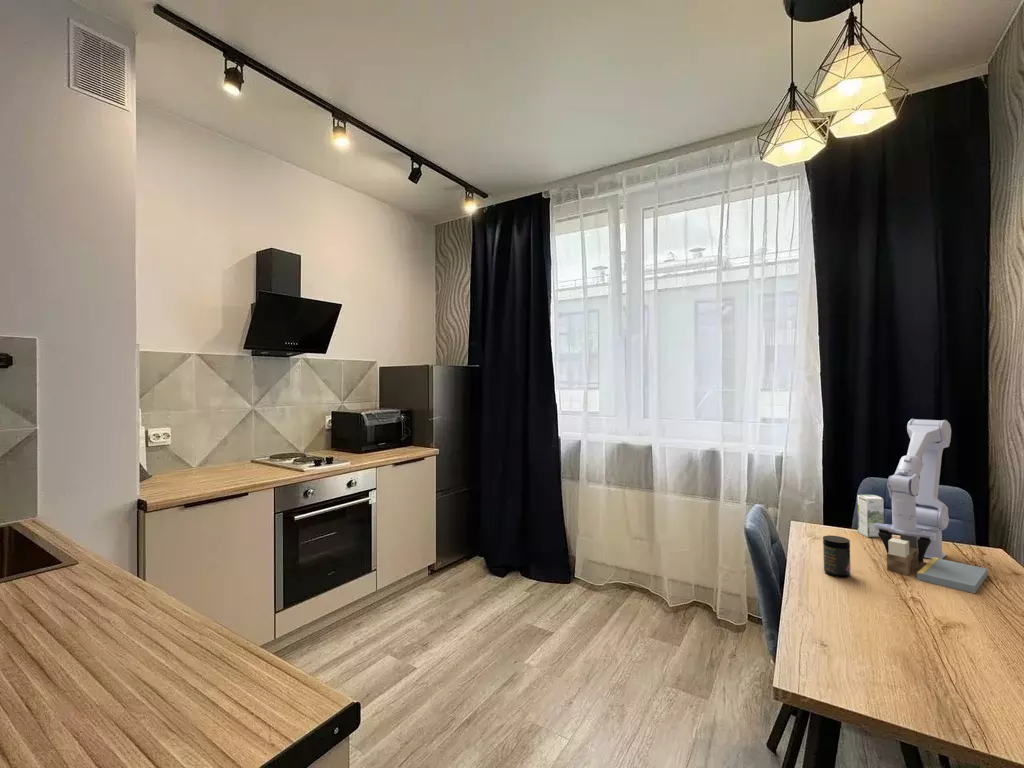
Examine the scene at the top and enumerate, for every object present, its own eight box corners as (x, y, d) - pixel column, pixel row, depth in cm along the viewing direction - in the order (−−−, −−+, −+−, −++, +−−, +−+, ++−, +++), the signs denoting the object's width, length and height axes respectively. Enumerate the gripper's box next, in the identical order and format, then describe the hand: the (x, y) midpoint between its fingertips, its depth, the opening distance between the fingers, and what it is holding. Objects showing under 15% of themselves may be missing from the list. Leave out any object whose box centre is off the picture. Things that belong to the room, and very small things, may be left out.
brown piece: (887, 570, 143) (886, 553, 143) (902, 557, 153) (902, 541, 153) (908, 575, 139) (907, 558, 139) (922, 561, 149) (922, 545, 149)
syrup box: (873, 532, 177) (872, 494, 177) (884, 537, 171) (883, 497, 171) (857, 532, 178) (856, 494, 178) (867, 537, 172) (866, 497, 172)
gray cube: (900, 544, 150) (900, 532, 150) (904, 542, 153) (903, 529, 153) (916, 548, 147) (916, 535, 147) (920, 545, 149) (919, 532, 149)
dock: (917, 579, 136) (916, 572, 136) (933, 563, 147) (933, 556, 147) (974, 593, 126) (974, 585, 126) (987, 575, 137) (987, 568, 137)
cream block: (888, 554, 143) (888, 540, 143) (892, 550, 145) (892, 537, 145) (905, 557, 140) (905, 544, 140) (909, 554, 142) (909, 541, 142)
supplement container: (848, 580, 137) (847, 544, 137) (820, 574, 142) (819, 539, 142) (853, 573, 141) (852, 538, 141) (826, 567, 146) (825, 533, 146)
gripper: (871, 511, 149) (872, 554, 149) (931, 521, 138) (932, 568, 138) (878, 507, 154) (879, 549, 154) (937, 517, 142) (938, 562, 142)
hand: (904, 558), depth 146 cm, fingers open, 7 cm apart
